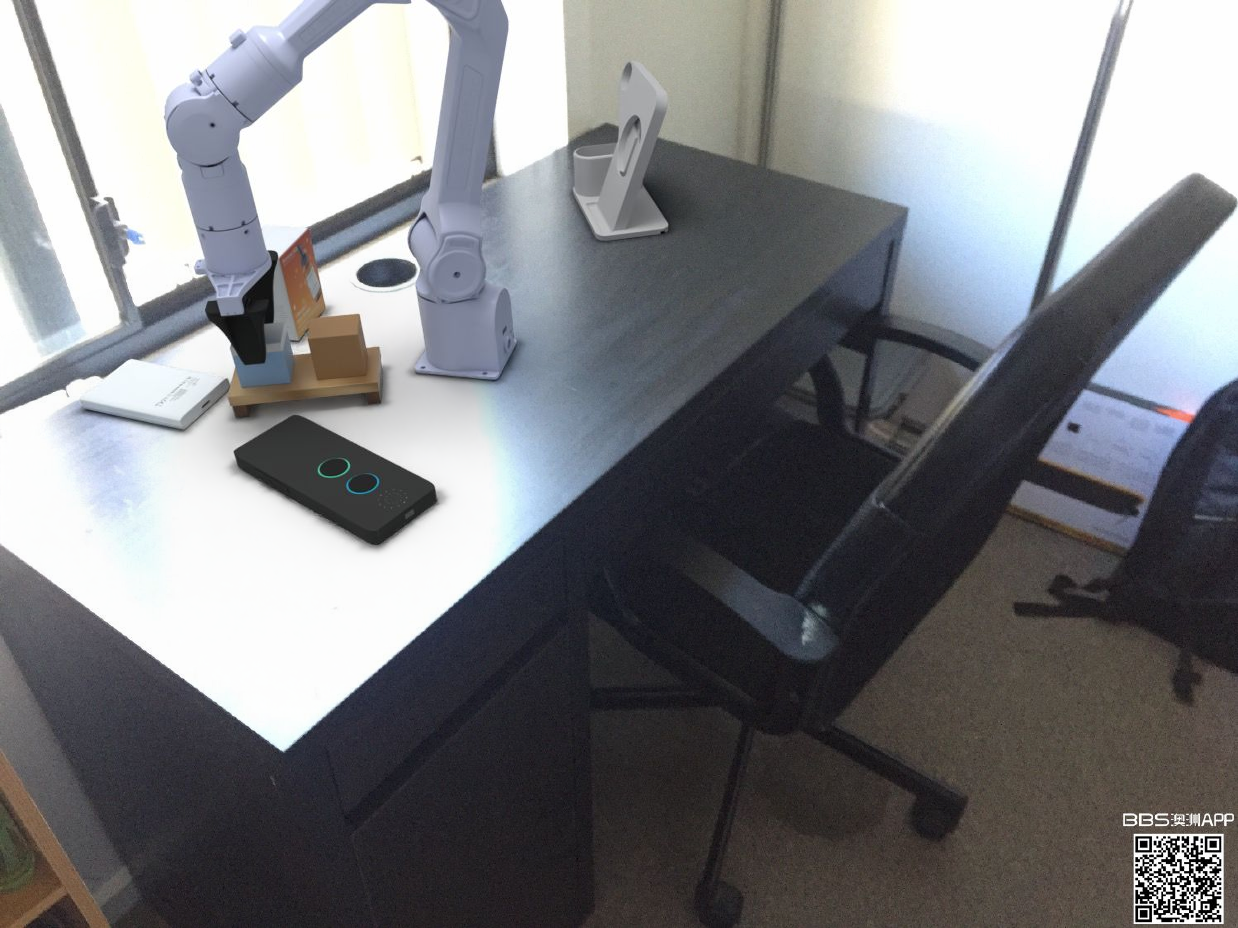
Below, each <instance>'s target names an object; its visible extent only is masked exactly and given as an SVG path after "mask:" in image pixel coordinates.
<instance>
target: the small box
mask: <svg viewBox="0 0 1238 928" xmlns="http://www.w3.org/2000/svg"><path fill="white" fill-rule="evenodd" d="M261 230H262V234H263V238H264V242H265V246H266V249H267V250H273V251H276V252H277V253H278V261H277V265H276V268H275V273H274V286H273V290H274V323H282V322H285V324H286V328H287V332H288V336H289V340H290V341H299V340H301V338H302V337H303V335H304V334H305V333H306V331H307V330H309V325H310V319H311V318H318V317H320V315H322V314H323V312H325V310H326V308H327V306H326V301H325V298H324V293H323V287H322V283H321V278H320V274H319V270H318V265H317V260H316V255H315V251H314V246H313V242H312V241H313V240H312V237H311V231H310V228H309V227H304V226H303V227H302V226H289V225H277V224H264V225H263V226H261Z"/></svg>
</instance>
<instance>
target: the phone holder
mask: <svg viewBox="0 0 1238 928" xmlns="http://www.w3.org/2000/svg"><path fill="white" fill-rule="evenodd" d="M668 105H669V96H668V93H667V91H666V90H665V88H663V86H662V85H661V84H660V83H659V82H658V80H657V79H656V77H654V76H653V75H652V73H651V72H650V71H649V69H647V68H646V67H645V66H644V64H643V63H642V62H639V61H636V60H632V59H628V60H627V61H626V62H625V64H624V66H623V68H622V71H621V74H620V77H619V80H618V85H617V107H618V108H617V109H618V110H617V112H618V113H617V114H618V138H617V142H612V143H604V144H595V145H585V146H580V147H578V148H576V149H575V150H574V151H573V152H572V153H573V154H572V156H573V175H574V186H573V188H572V194H573V197H574V199H575V200H576V202H577V205H578V206H579V208H580V210H581V212H582V214H583V216H584V218H585V219H586V222H587V225H588V226H589V227H590V229H591V232H592V234H593V236H594V237H595V239H596V240H599V241H601V242H602V241H603V242H609V241H616V240H623V239H624V240H625V239H633V238H639V237H647V236H654V235H661V232H664V233H667V232H668V231H669V222H668V221H667V219H666V218H665V216H664V215H663V213H662V211H660V209H659V208H658V206H657V204H656V203H655V201H654V200H653V197H651V195H650V194H649V191H647V189H646V187H645V186H644V177H645V175H646V171H647V169H648V165H649V163H650V161H651V157H652V154H653V151H654V149H655V146H656V143H657V140H658V137H659V134H660V131H661V128H662V125H663V123H664V120H665V117H666V114H667V110H668Z"/></svg>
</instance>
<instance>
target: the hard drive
mask: <svg viewBox="0 0 1238 928" xmlns="http://www.w3.org/2000/svg"><path fill="white" fill-rule="evenodd" d="M230 386H231V383H230V379H229V378H228V377H224V376H220V375H215V374H210V373H206V372H200V371H195V370H190V369H185V368H180V367H175V366H170V365H166V364H165V365H164V364H159V363H154V362H149V361H144V360H139V359H134V358H130V359H128V360H126V361H125V362H124V363H122V364H121V365H120V366H119V367H117V368H116V369H115V370H113V371H112V372H111V373H109V374H108V375H107V376H105V377H104V378H103V379H101V380H100V381H99V382H98V383H97V384H95V385H94V386H92V387H91V388H90V389H88V390H87V391H86V392H85V393H84V394H83V395H81V396H80V397H79V401H80V404H81V407H82V408H83V409H84V410H89V411H93V412H99V413H102V414H103V413H104V414H108V415H113V416H116V417H121V418H126V419H132V420H135V421H140V422H144V423H145V422H146V423H150V424H154V425H160V426H163V427H164V426H165V427H168V428H169V427H170V428H174V429H180V430H185V429H187V428H188V427H190V425H191V424H193V423H194V422H195V421H196V420H197V419H198V418H199V417H201V415H203V414H204V413H205V412H206V411H207V410H209V408H211V406H213V405H214V404H215V403H216V402H217V401H218V400H219V399H220V398H222V396H224V395H225V394H226V393H227V392H229V390H230Z"/></svg>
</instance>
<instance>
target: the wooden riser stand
mask: <svg viewBox="0 0 1238 928" xmlns="http://www.w3.org/2000/svg"><path fill="white" fill-rule="evenodd" d="M366 349H367V369H366V375H364V376H354V377H344V378H333V379H323V380H317V377H316V373H315V369H314V365H313V361H312V356H311V352H309V353H300V354H299V353H298V354H293V356H294V360H295V362H294V368H293V374H292V380H291V383H284V384H274V385H264V386H254V387H244V388H242V387H241V384H240V381H239V378H238V374H237V371H236V367H235V366H234V370H233V373H232V378H231V382H230V388H229V389H228V393H227V399H228V403H229V407H232V411H233V414H234V417H235V418H236V419H240V418H246V417H247V418H248V417H250V415H251V410H252V406H253V405H256V404H257V405H258V404H268V403H275V402H276V403H278V402H287V401H296V400H307V399H316V398H327V397H336V396H345V395H347V396H348V395H356V394H365V395H364V396H365V400H366V404H367V405H376V404H382V392H383V391H382V389H383V370H384V369H383V365H382V354H381V347H380V346H371V347H366Z"/></svg>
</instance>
